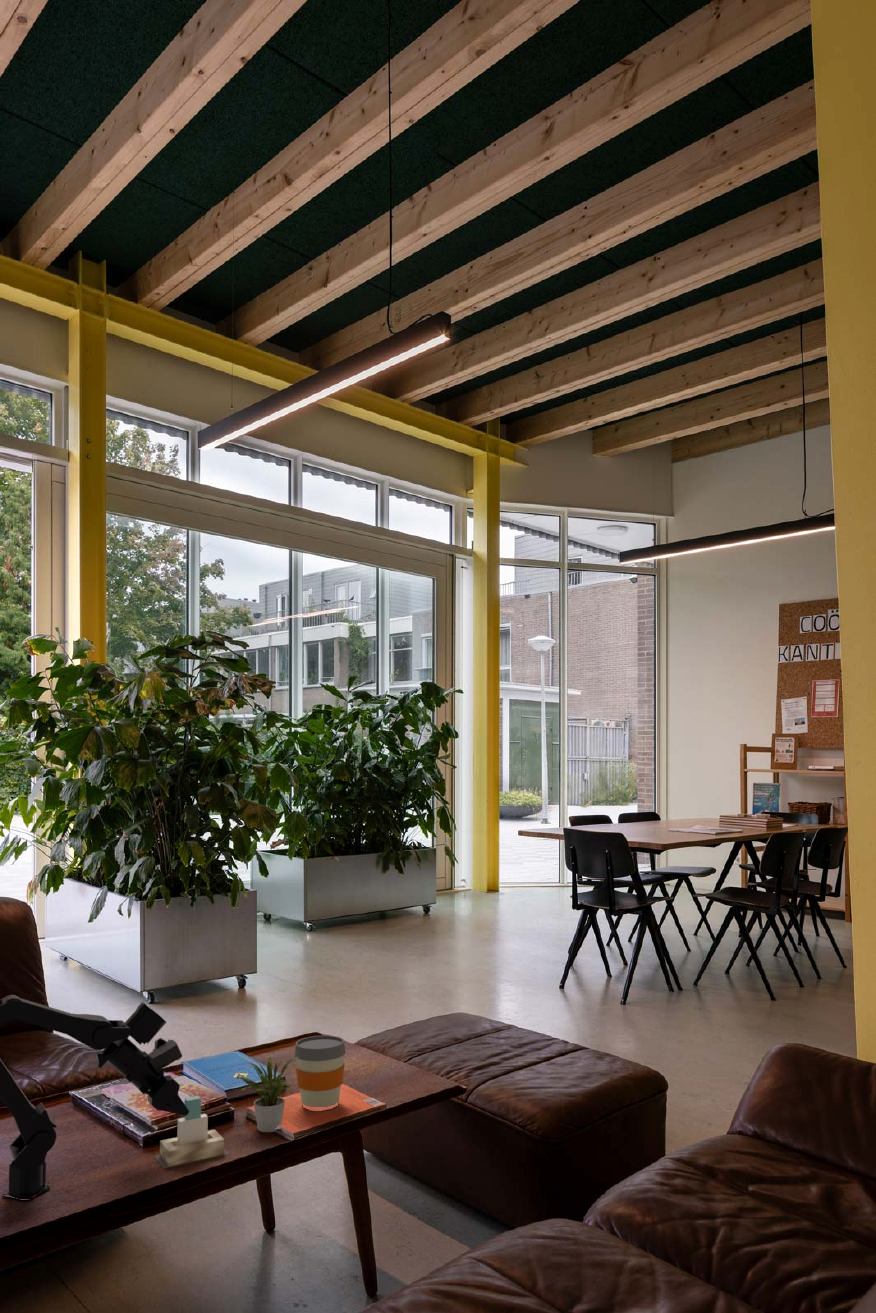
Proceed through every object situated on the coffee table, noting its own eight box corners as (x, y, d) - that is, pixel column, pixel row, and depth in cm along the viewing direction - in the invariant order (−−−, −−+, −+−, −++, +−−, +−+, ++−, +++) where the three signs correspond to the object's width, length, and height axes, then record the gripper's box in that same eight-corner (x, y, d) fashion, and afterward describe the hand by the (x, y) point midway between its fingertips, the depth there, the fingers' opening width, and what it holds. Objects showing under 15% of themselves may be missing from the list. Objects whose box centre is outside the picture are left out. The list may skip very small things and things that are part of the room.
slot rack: (168, 1166, 202) (168, 1151, 202) (159, 1155, 208) (160, 1140, 208) (224, 1153, 208) (224, 1139, 208) (214, 1143, 214) (214, 1129, 214)
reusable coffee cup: (332, 1116, 230) (331, 1050, 232) (285, 1111, 234) (285, 1046, 236) (354, 1099, 242) (353, 1037, 244) (309, 1094, 246) (309, 1033, 248)
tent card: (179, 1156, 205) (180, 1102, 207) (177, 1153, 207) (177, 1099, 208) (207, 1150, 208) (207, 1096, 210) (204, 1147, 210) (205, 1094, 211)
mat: (164, 1170, 201) (164, 1168, 201) (154, 1157, 208) (154, 1155, 208) (229, 1155, 208) (229, 1153, 208) (218, 1143, 215) (218, 1141, 215)
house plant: (280, 1112, 234) (280, 1042, 236) (315, 1126, 224) (314, 1053, 226) (229, 1128, 224) (229, 1055, 226) (263, 1143, 214) (263, 1067, 216)
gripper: (170, 1039, 199) (221, 1086, 203) (148, 1020, 215) (196, 1064, 219) (130, 1086, 194) (183, 1133, 198) (110, 1063, 210) (160, 1107, 214)
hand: (181, 1107), depth 208 cm, fingers open, 9 cm apart
